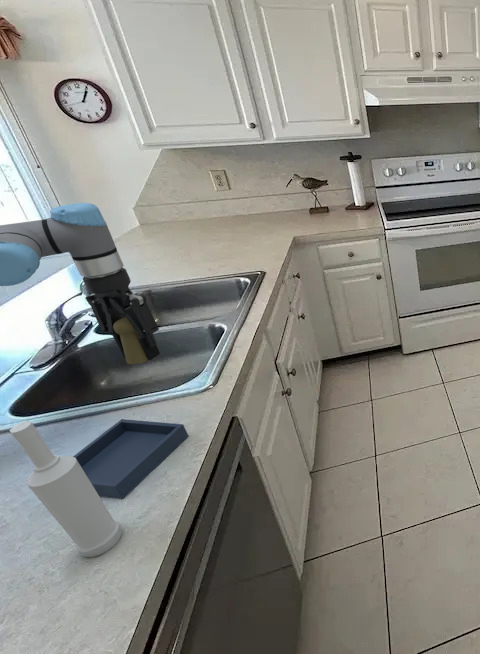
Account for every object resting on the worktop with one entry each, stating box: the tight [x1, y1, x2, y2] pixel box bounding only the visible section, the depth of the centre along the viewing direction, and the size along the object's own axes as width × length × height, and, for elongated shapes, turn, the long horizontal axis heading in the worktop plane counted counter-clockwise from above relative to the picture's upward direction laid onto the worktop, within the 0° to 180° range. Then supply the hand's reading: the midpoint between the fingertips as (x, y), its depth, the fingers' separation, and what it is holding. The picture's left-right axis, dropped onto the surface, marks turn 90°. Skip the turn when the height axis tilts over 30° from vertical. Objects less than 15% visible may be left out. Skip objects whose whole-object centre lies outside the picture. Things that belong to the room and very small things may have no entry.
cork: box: [113, 316, 149, 365], centre depth 101 cm, size 6×6×11 cm
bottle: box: [9, 420, 123, 558], centre depth 61 cm, size 5×5×25 cm
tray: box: [72, 418, 189, 500], centre depth 80 cm, size 15×15×3 cm
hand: (142, 355), depth 103 cm, fingers closed on cork, 6 cm apart
